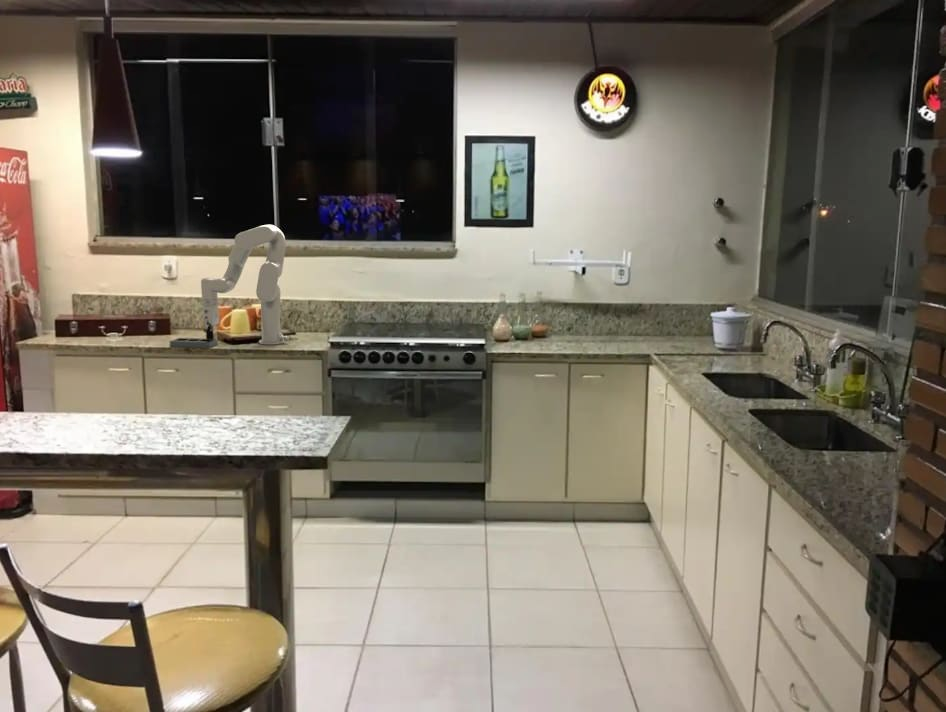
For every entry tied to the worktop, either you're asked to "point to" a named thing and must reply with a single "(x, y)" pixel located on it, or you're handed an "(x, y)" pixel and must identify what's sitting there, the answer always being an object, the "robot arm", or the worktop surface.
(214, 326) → the beech peg
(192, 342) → the grey compartment tray
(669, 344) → the worktop surface
